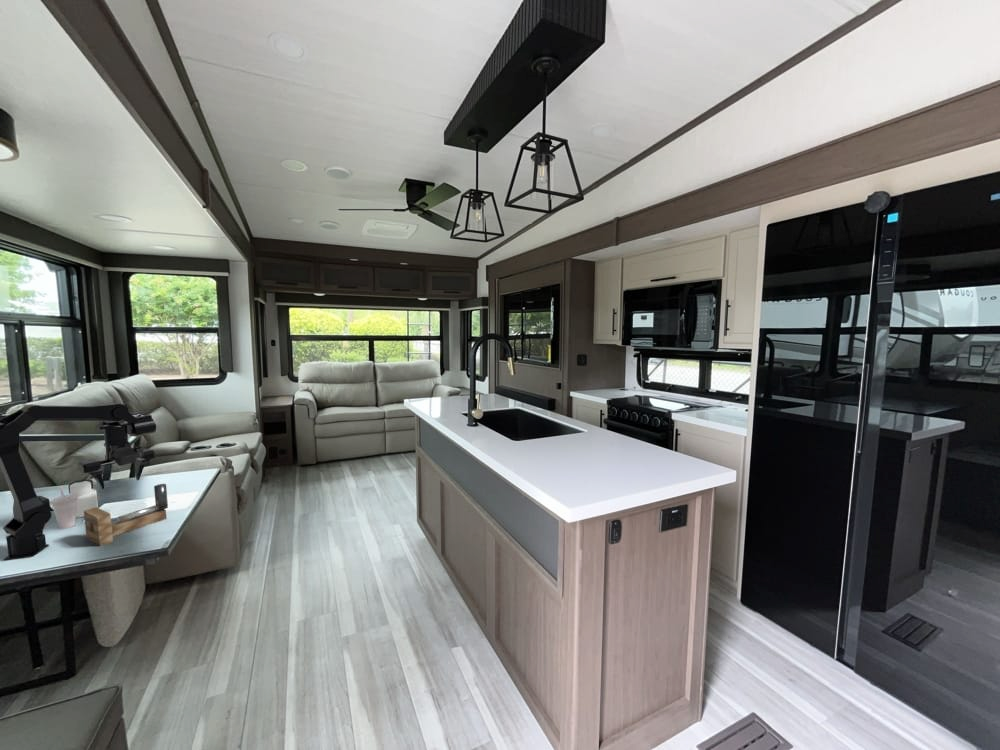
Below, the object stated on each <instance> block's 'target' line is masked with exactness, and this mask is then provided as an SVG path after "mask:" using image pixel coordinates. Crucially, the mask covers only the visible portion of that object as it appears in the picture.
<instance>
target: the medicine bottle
mask: <svg viewBox="0 0 1000 750" xmlns="http://www.w3.org/2000/svg"><path fill="white" fill-rule="evenodd" d="M68 495H78V499H77V506H76V519H79V518H83V517H84V511H85V510H89V509H92V508H96V507H97V508H99V505H98V495H97V489H94V480H92V479H81V480H75V481H73V482H71V483H70V484H68Z"/></svg>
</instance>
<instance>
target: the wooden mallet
mask: <svg viewBox="0 0 1000 750" xmlns="http://www.w3.org/2000/svg"><path fill="white" fill-rule="evenodd" d="M111 518H112V516H111V513H110V512H107V511H106V510H103V509H101V508H99V507H98V508H97V507H96V508H92V509H89V510H85V511H84V526H85V527H84V528H85V535H86V539H87V540H89V541H91V542H93V543H94V544H96V545H98V546H100V547H102V546H104V545H107V544H110V543H113V542H114V537H117V536H119V534H120V535H122V533H123V534H125V533H124V532H126V533H128V532H127V531H129V532H131V531H130V530H132V531H134V530H133V529H135V530H138V529H140V527H141V528H143V526H144V527H146V525H147V526H148V525H152V524H155V523H158V522H161V521H164V520H167V510H166V509H163V510H158V511H155V512H152V513H149V514H145V515H142V516H139V517H136V518H133V519H130V520H127V521H123V522H120V523H119V522H118V521H117V522H116V523H112V519H111ZM137 528H138V529H137ZM116 535H117V536H116ZM113 536H114V537H113Z"/></svg>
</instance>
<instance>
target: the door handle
mask: <svg viewBox="0 0 1000 750" xmlns="http://www.w3.org/2000/svg"><path fill="white" fill-rule="evenodd" d="M153 491H154V502H155V505H152V506H148V507H146V508H142V509H139V510H135V511H132V512H129V513H126V514H122V515H120V516H117V523H118V522H119V523H120V522H123V521H127V520H130V519H133V518H136V517H139V516H142V515H145V514H149V513H152V512H155V511H158V510H163V509H165V510H166V509H168V507H169V504H168V502H169V501H168V491H167V484H166V483H159V484H157V485H154V486H153Z"/></svg>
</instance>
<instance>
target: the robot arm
mask: <svg viewBox="0 0 1000 750" xmlns="http://www.w3.org/2000/svg"><path fill="white" fill-rule="evenodd" d="M152 416H153V415H151V414H144V415H141V416H134V415H133V414H132V413H131V412H129V408H128V406H126V405H125V404H124V403H116V402H105V403H96V404H91V405H36V404H27V405H25V406H23V407H22V408H20V409H19V410H17V411H14V412H12V413H10V414H8V415H6V416H4V417H2V418H1V419H0V469H1V470H0V471H1V472H2V474H3V477H4V480H5V481H6V484H7V486H8V489H9V491H10V493H11V496H12V498H13V505H12V515H13V517H12V519H10V521H8V522H7V524H5V525H4V526H3V527H2V530H3V531H4V532H5V533H6V534H7V536H6V538H5V541H6V545H7V546H6V547H7V553H8V555H7V556H5V557H3V560H4V561H8V560H15V559H22V558H23V559H24V558H32V557H34V556H36V555H37V554H39V553H40V552H42V551H43V550H45V549H47V548H48V547H49V546H50V544H47V540H46V534H45V533H44V528H45V526H46V524H47V523H48V522H50V521H49V520H50V519H51V518H52V512H54V510H53V507H51V504H50V501H51V500H50V499H49V498H48V497H44V496H42V495H38V494H37V493H36V491H35V487H34V485H33V484H32V481H31V478H30V476H29V474H28V471H27V468H26V466H25V464H24V461H23V459H22V456H21V454H20V447H21V446H20V445H21V438H20V436H21V435H20V434H21V433H23V432H25V431H26V430H27V429H29V428H30V427H31V426H32V425H33V424H34V423H36V422H37V421H38V420H40V419H81V418H82V419H85V418H86V419H88V418H89V419H90V418H91V419H98V420H101V421H99V423H98V424H97V425H96V426H94V429H95V430H101V431H102V430H103V437H104V443H103V447H105V455H104V457H105V458H104V459H102V460H97V459H94V458H93V459H87V460H84V461H79V462H78V463H77V466H76V467H77V468H76V469H77V471H78V472H81V473H82V474H88V475H91V476H92V478H93V479H94V480H95V482H96V483H97V485H98V486H99V487H100V489H101V490H104V489H105V482H104V478H103V469H102V467H105V466H108V465H113V464H117V465H118V466H121V467H122V466H125V465H129V464H134V476H135V479H136V481H140V479H141V476H142V473H143V470H144V468H145V466H146V464H148V463H149V462H151V461H152V459H155V458H157V454H156V451H155V450H154V449H152V448H151V449H150V448H144V447H143V446H135V447H133V448H132V446H131V442H130V441H129V435H131V437H140V436H144V435H150V434H155V433H156V431H157V424H156V422H155V420H154V419H153V417H152ZM102 420H105V421H102ZM106 421H111V422H106ZM119 421H120V422H119ZM8 534H9V535H8Z"/></svg>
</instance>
